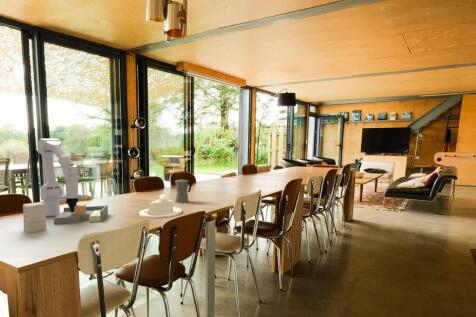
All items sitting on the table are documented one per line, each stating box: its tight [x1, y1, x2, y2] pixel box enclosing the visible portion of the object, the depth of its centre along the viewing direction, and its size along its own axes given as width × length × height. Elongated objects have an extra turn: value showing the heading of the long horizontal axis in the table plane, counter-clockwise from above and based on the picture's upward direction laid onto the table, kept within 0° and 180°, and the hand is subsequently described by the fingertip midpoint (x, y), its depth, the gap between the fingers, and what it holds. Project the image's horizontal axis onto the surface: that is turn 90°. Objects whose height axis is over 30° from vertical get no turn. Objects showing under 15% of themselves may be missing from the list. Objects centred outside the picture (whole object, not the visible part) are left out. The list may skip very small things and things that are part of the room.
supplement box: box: [22, 201, 47, 234], centre depth 137 cm, size 7×7×13 cm
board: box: [53, 204, 109, 225], centre depth 157 cm, size 23×16×6 cm
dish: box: [138, 193, 183, 219], centre depth 171 cm, size 25×25×11 cm
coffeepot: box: [174, 176, 193, 204], centre depth 203 cm, size 15×9×18 cm, turn 62°
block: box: [75, 203, 87, 215], centre depth 157 cm, size 4×4×4 cm
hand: (72, 212), depth 156 cm, fingers closed
